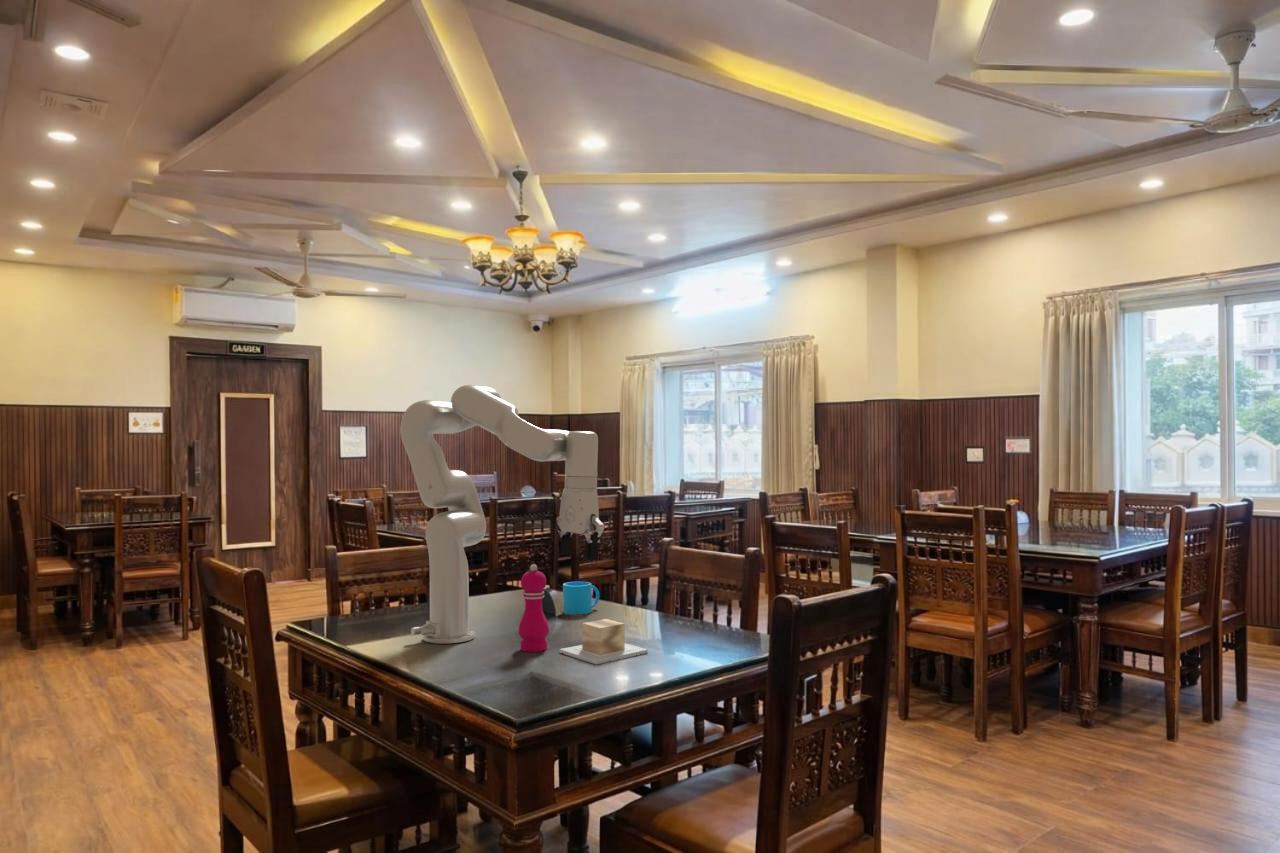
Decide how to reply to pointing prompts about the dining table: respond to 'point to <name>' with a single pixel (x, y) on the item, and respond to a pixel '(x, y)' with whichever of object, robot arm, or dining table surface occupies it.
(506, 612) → the dining table surface
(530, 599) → the pepper mill
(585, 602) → the mug
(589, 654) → the white flat square
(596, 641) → the maple block
